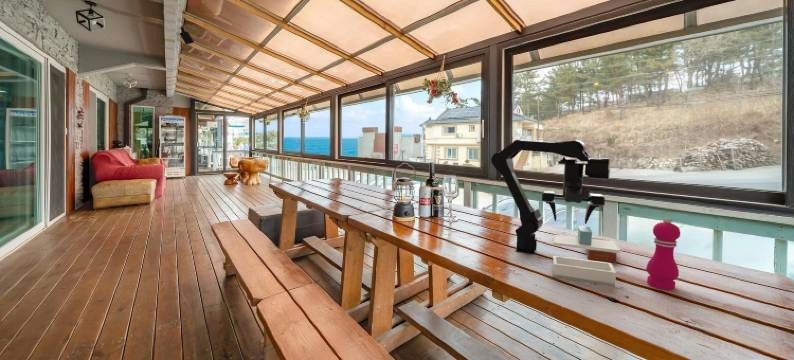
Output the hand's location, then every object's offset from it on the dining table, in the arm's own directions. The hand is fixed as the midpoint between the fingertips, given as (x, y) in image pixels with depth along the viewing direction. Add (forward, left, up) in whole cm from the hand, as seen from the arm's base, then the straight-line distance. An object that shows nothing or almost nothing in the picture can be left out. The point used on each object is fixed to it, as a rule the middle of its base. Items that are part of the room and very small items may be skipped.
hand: (570, 222), depth 113 cm
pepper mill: (+23, -13, -13) cm, 30 cm away
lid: (+3, -15, -3) cm, 16 cm away
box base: (+3, -15, -13) cm, 20 cm away
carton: (+11, +9, -14) cm, 19 cm away
